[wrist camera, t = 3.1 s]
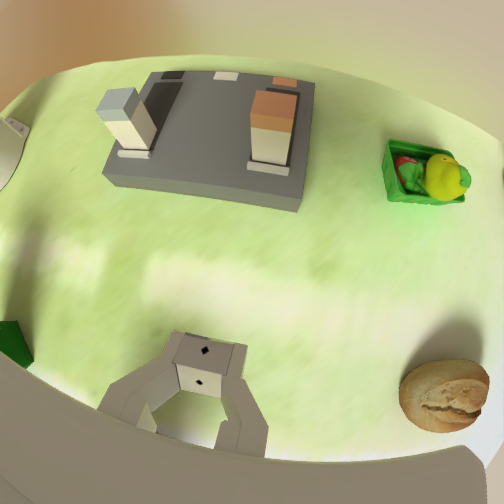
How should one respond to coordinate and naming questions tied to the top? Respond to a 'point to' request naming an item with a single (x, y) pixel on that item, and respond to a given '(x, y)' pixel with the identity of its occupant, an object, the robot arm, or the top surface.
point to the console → (214, 140)
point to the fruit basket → (423, 174)
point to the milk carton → (14, 344)
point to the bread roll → (444, 395)
